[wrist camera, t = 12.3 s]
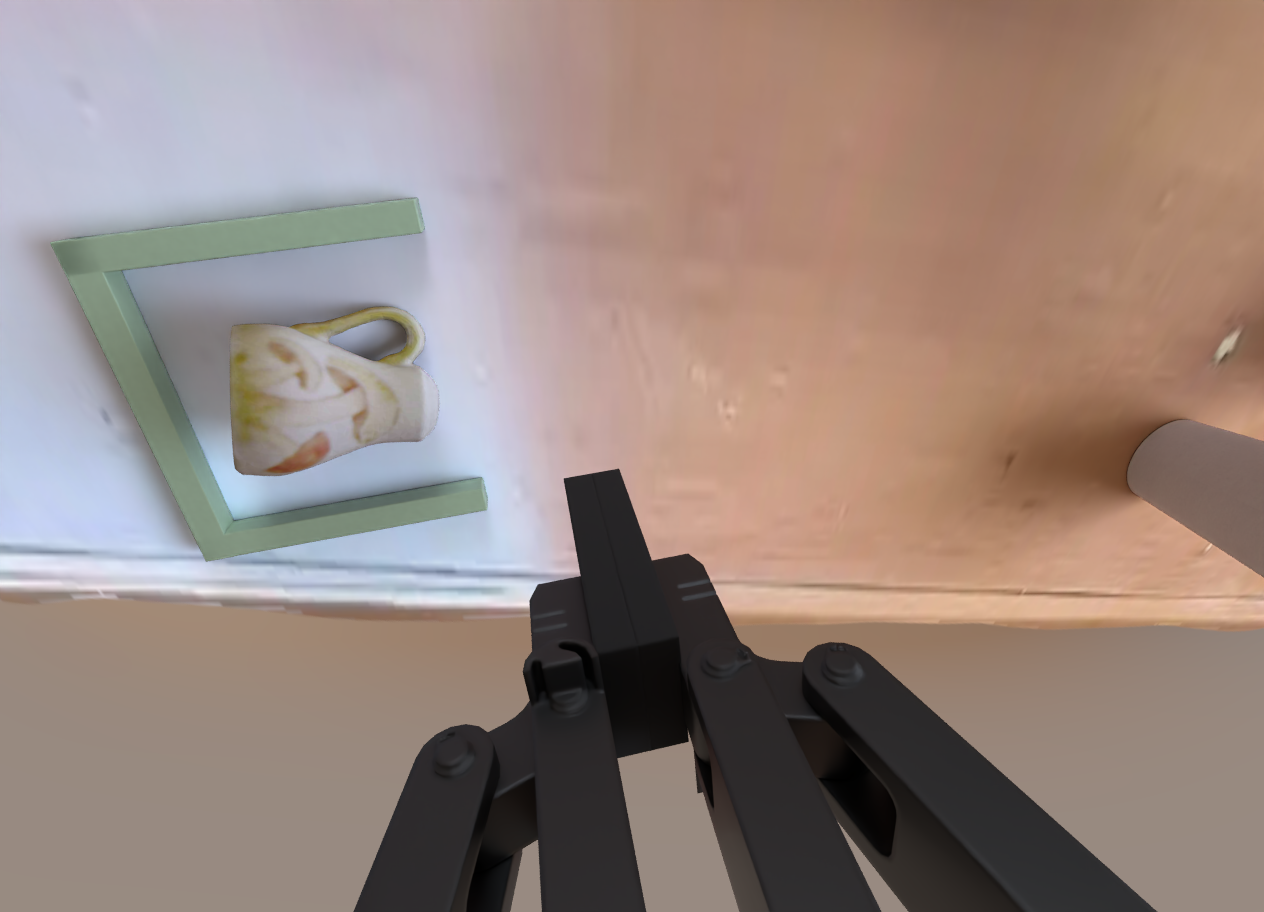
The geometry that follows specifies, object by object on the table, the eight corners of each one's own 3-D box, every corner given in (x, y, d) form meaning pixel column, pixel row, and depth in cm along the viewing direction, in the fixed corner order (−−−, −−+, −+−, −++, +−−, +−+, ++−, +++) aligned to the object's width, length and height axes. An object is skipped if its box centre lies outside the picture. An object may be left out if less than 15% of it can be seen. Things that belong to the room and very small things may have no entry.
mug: (455, 448, 37) (333, 554, 29) (312, 378, 38) (157, 462, 30) (474, 336, 32) (337, 424, 24) (313, 261, 33) (131, 322, 25)
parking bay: (417, 197, 31) (414, 199, 29) (487, 498, 38) (487, 510, 37) (69, 238, 29) (49, 242, 27) (216, 547, 36) (205, 561, 35)
